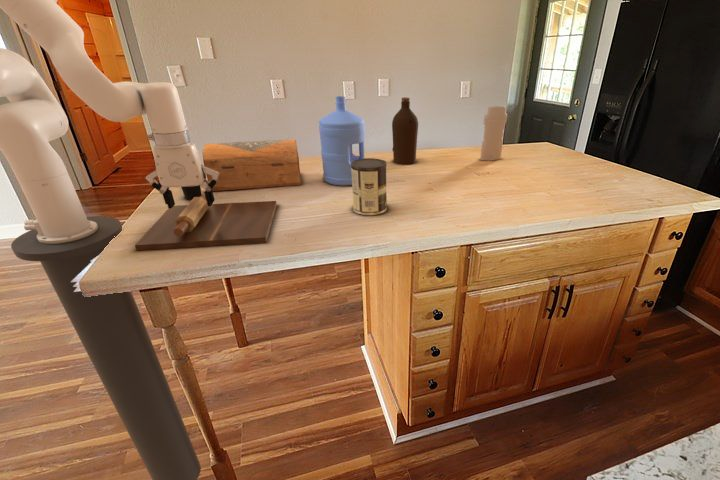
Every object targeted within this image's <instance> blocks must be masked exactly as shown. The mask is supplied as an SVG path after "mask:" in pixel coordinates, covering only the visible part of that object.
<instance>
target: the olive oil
mask: <svg viewBox="0 0 720 480" xmlns="http://www.w3.org/2000/svg"><path fill="white" fill-rule="evenodd" d="M410 99H411V98H410V97H401V101H400V109H399V110H398V111H397V112H396V113H395V115H394V116H393V118H392V122H391V131H392V132H391V133H392V148H391V149H392V155H393V156H392V157H393V162H394V164H397V165H412V164H415V163H416V161H417V148H418V147H417V146H418V145H417V144H418V134H419V120H418V117H417V115H416V114H415V113H414V112H413V110H412V109H411V101H410Z"/></svg>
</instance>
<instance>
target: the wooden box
mask: <svg viewBox="0 0 720 480" xmlns="http://www.w3.org/2000/svg"><path fill="white" fill-rule="evenodd" d="M299 158H300V157H299V152H298V145H297V140H296V139H272V140H271V139H267V140H250V141H249V140H248V141H232V142H217V143H207V144H204V145H203V147H202V163H203V166H205V167H207V168H210V169H212V170H215V171H218V172H219V173H220V174H219V178H218V181H217V183H216V184H215V185H214V187H213V188H212V190H213V192H218V191H219V192H220V191H232V190H243V189H244V190H246V189H247V190H248V189H260V188H261V189H263V188H273V187H274V188H275V187H290V186H291V187H292V186H301V185H302V178H301V177H302V176H301V168H300V159H299ZM206 180H208V181H209V182H211V181H212V176H211V175H209V174H206Z"/></svg>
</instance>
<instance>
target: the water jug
mask: <svg viewBox="0 0 720 480" xmlns="http://www.w3.org/2000/svg"><path fill="white" fill-rule="evenodd" d="M346 103H347V102H346V96H335V106H336V108H335V110H334V111H332V112H330V113H328V114H327V115H325V116H323V117H321V118H320V119H319V120H318V131H319V137H320V148H321V149H320V153H321V159H322V176H323V177H322V178H323V181H324V182H326V183H327V184H329V185H333V186H339V187H340V186H342V187H347V186H352V172H351V162H352V161H354V160H358V159H366V158H365V141H366V124H365V120H364V118H362V117H360V116H358V115H356V114H354V113H353V112H351V111H349V110H347V107H346ZM357 144H358V154H359V155H355V154H354V153H353V145H357Z"/></svg>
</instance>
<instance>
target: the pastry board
mask: <svg viewBox="0 0 720 480" xmlns="http://www.w3.org/2000/svg"><path fill="white" fill-rule="evenodd" d="M277 203H278V202H277V200H265V201H246V202H223V203H222V202H221V203H213V204H212V205H211V206H209V207H208V209H207V210H206V212H205V213H204V215H203V216H202V217H201V219H200V220H199V222H198V223H197V225H196V226H195V227H194V229H193V230H192V231H191V232H185V233H184V234H183V235H182V236H176V235H175V234H174V232H173V231H174V229H175V228H176V225H175V220H176V219H177V217H178V216H179V215H180V214H181V213H182V211H183V210H184V209H185V208H186V207H187V205H188V204H182V205H180V204H178V205H174V206H173V207H172V208H168V209H166V210H165V212H164V213H163V214H162V215H161V216H160V217H159V219H157V220H156V221H155V222H154V224H152V226H151V227H150V228H149V229H148V230H147V231H146V232H145V233H144V235H143V236H142V237H140V239H139V240H138V241H137V242H136V243H135V244H134V247H135V251H137V252H141V251H155V250H169V249H171V250H172V249H186V248H203V247H219V246H233V245H249V244H250V245H251V244H266V243H267V242H268V238H269V235H270V231H271V227H272V224H273V220H274V217H275V214H276V211H277V207H278V204H277Z"/></svg>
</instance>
